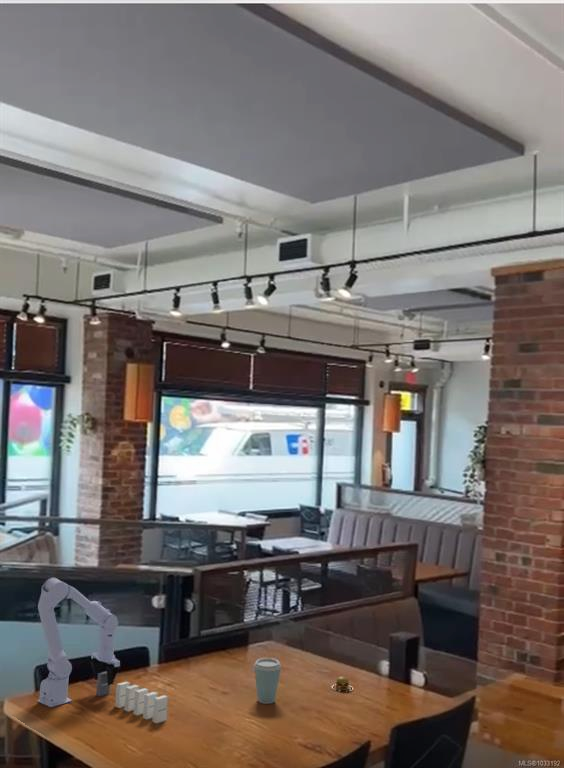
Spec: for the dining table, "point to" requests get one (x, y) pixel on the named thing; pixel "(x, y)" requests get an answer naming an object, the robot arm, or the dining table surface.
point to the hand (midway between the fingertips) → (103, 681)
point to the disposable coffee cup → (267, 679)
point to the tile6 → (160, 709)
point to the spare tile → (102, 684)
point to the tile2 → (121, 694)
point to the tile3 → (130, 697)
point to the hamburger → (342, 683)
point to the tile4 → (139, 701)
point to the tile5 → (149, 705)
